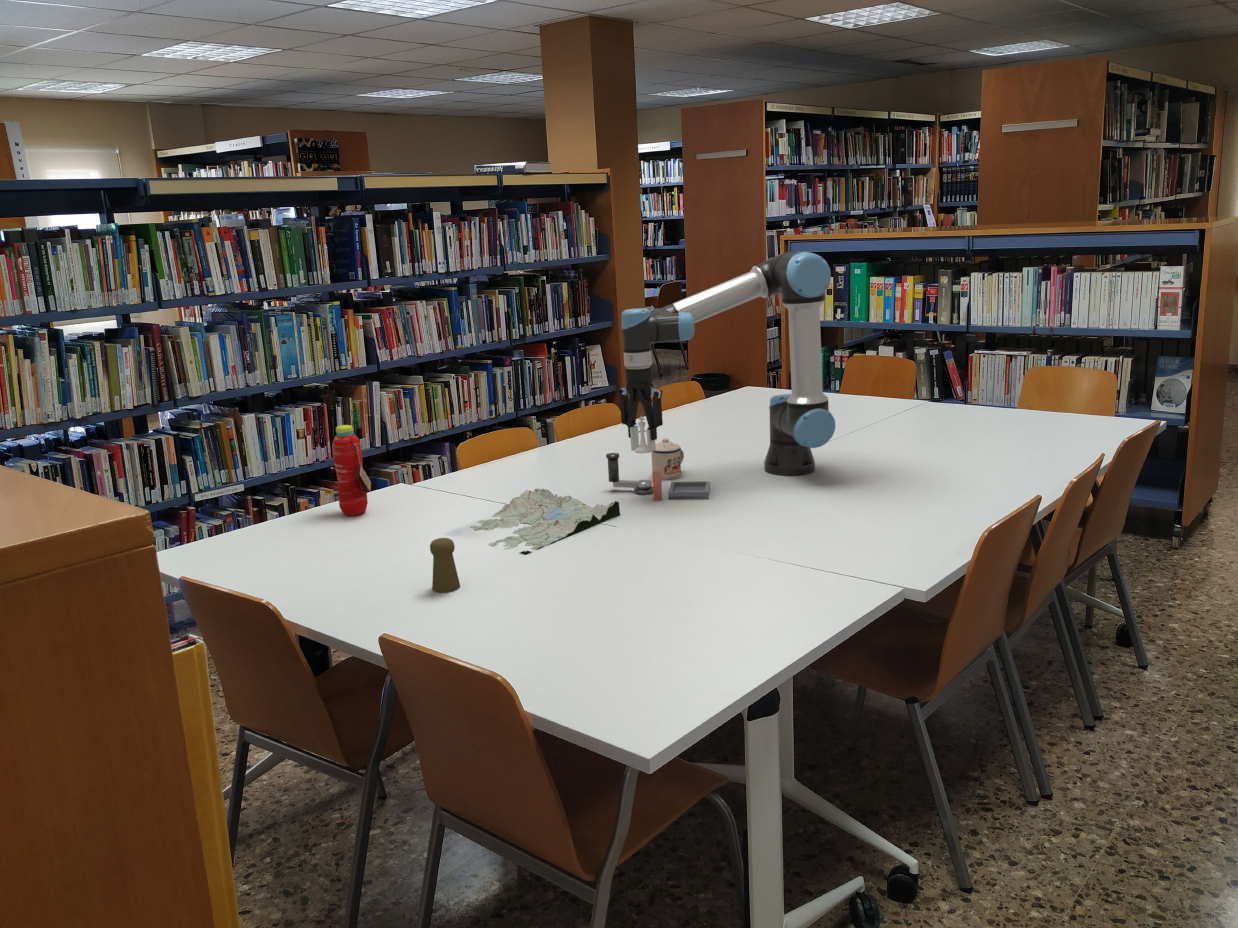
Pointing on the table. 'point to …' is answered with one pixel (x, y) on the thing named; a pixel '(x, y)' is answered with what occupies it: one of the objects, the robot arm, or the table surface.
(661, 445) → the teacup with lid
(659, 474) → the post
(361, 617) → the table surface
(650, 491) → the crank base
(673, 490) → the tray
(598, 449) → the table surface
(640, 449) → the chess piece
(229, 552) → the table surface
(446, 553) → the cork
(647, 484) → the crank arm
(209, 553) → the table surface
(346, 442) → the water bottle
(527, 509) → the topographic map model
